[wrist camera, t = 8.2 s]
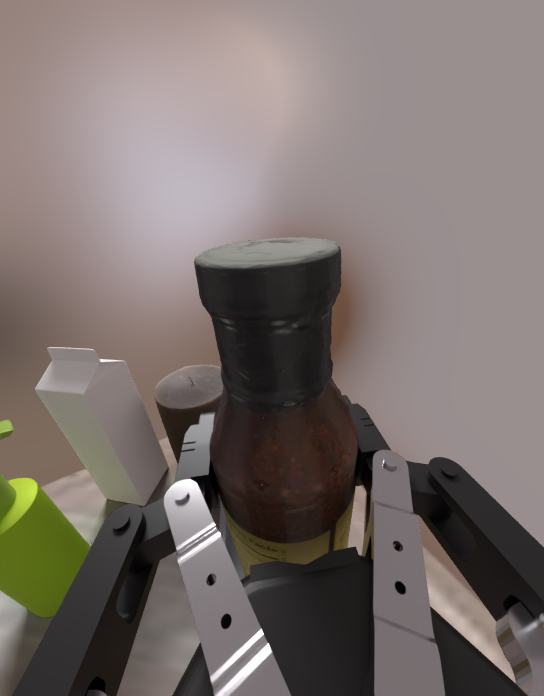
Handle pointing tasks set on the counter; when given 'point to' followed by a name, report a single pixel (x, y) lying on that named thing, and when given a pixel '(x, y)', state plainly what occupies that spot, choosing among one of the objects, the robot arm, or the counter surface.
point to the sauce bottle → (279, 399)
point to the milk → (104, 422)
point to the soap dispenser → (36, 545)
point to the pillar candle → (187, 400)
